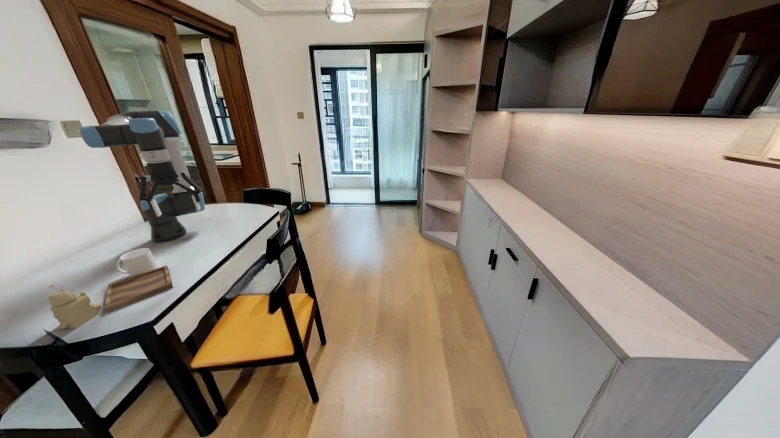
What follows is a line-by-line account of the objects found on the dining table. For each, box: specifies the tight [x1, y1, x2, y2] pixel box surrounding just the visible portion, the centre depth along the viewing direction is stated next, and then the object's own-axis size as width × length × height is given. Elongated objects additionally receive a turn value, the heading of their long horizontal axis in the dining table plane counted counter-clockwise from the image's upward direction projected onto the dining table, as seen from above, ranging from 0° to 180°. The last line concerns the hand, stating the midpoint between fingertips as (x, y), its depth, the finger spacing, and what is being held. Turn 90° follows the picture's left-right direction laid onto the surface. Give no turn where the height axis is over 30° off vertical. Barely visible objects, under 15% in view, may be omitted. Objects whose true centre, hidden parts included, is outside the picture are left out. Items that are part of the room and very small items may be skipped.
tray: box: [104, 265, 174, 313], centre depth 98 cm, size 18×18×2 cm
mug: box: [115, 247, 159, 277], centre depth 106 cm, size 12×9×9 cm
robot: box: [47, 284, 103, 332], centre depth 81 cm, size 10×8×15 cm
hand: (179, 212), depth 104 cm, fingers open, 13 cm apart
